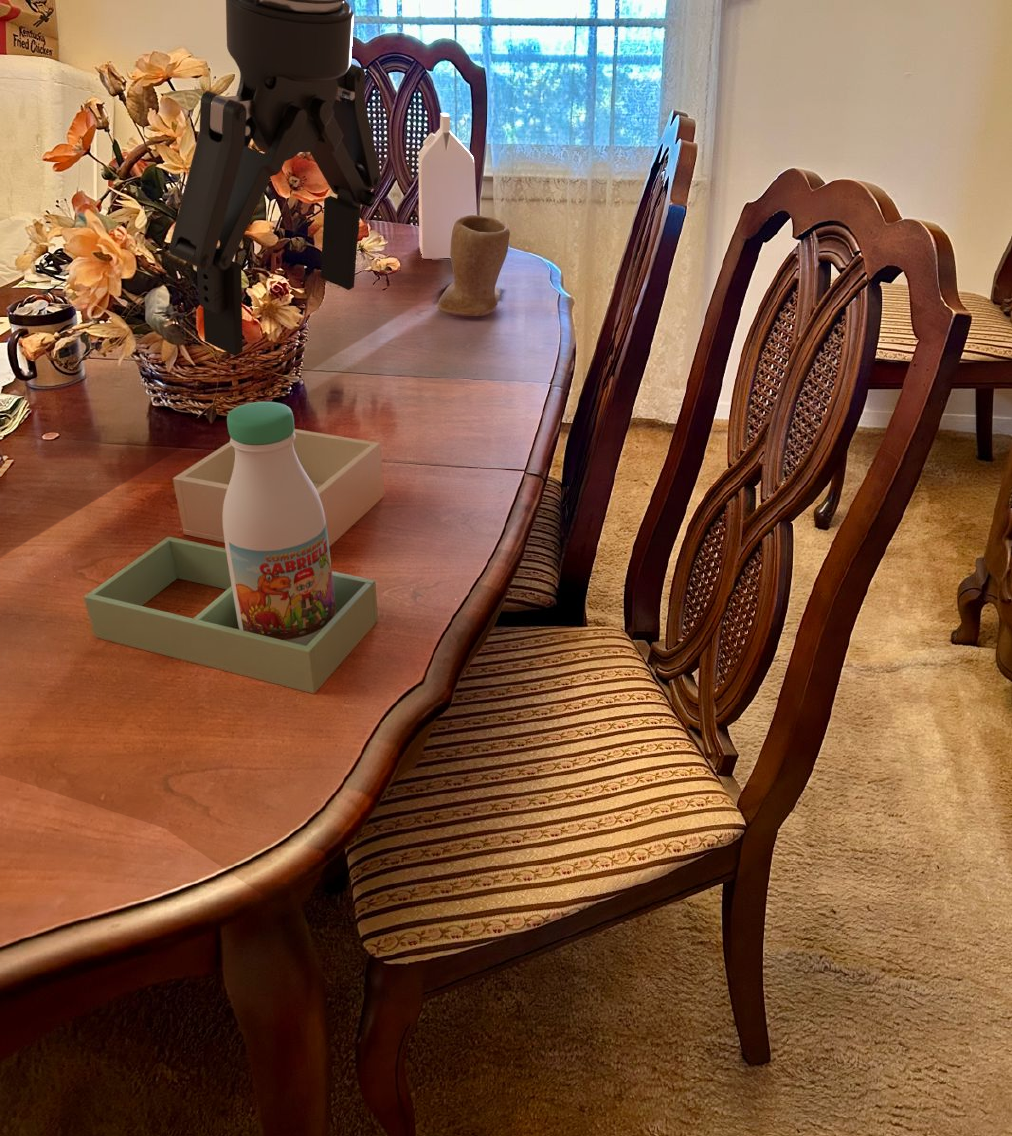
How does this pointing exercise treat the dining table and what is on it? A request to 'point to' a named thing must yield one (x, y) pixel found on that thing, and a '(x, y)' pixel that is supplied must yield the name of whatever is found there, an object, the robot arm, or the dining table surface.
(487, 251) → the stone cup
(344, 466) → the cream square box
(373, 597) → the green divided tray
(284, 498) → the milk bottle
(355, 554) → the dining table surface
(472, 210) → the milk
